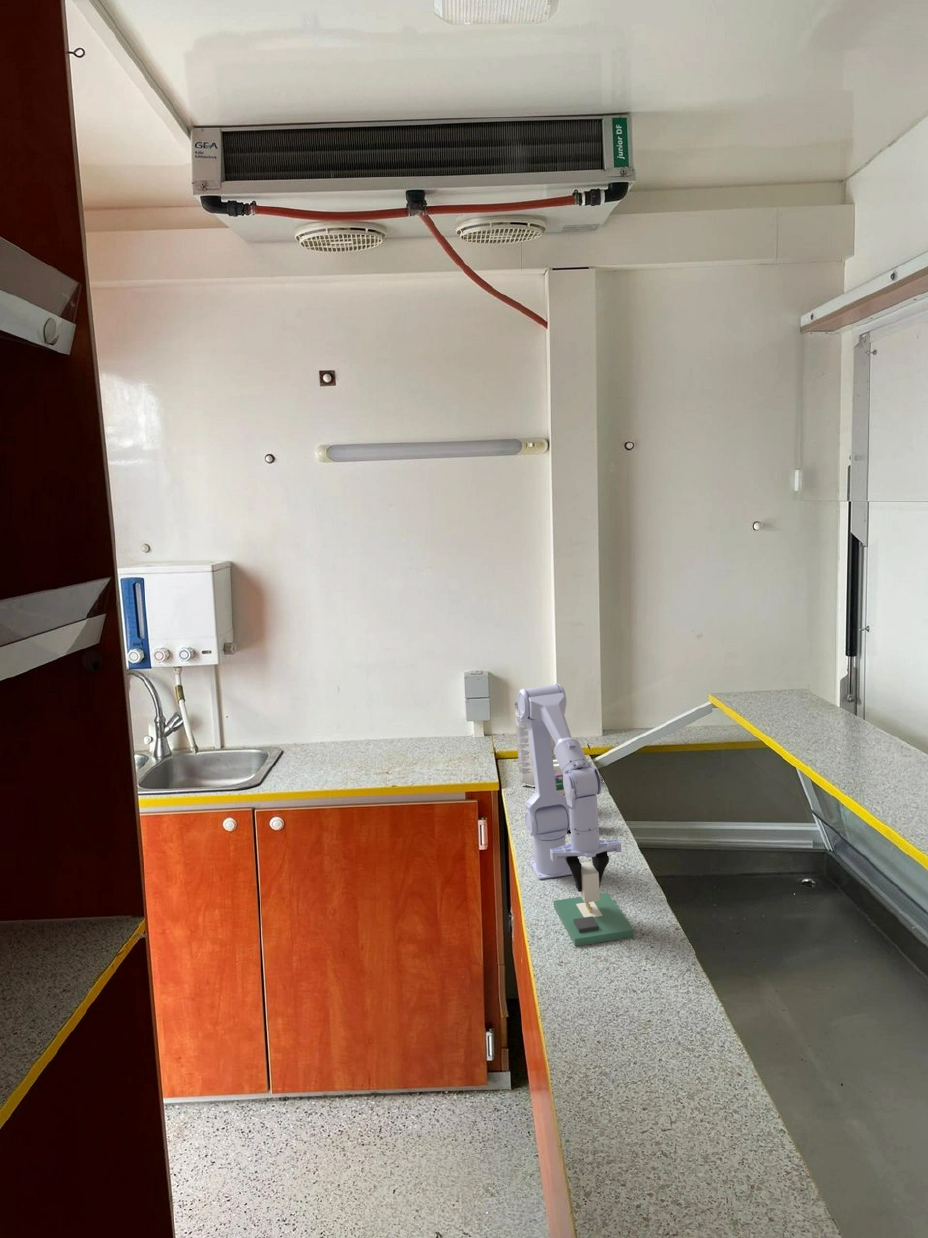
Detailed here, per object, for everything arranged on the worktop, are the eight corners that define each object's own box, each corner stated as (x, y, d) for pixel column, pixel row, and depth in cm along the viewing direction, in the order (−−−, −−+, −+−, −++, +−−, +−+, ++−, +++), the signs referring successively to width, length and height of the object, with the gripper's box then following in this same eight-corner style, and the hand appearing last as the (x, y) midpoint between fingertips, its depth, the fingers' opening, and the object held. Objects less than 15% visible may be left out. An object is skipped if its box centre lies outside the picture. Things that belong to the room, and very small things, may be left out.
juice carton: (548, 792, 253) (542, 701, 248) (516, 787, 258) (510, 698, 254) (562, 781, 260) (557, 693, 255) (531, 777, 266) (525, 690, 261)
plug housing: (575, 887, 185) (573, 860, 184) (589, 885, 185) (588, 858, 184) (584, 903, 178) (583, 875, 177) (600, 900, 178) (598, 873, 177)
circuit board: (553, 907, 187) (553, 895, 186) (608, 899, 188) (607, 887, 188) (575, 946, 171) (574, 933, 171) (634, 936, 173) (633, 924, 172)
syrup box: (549, 819, 233) (546, 767, 231) (544, 811, 239) (540, 760, 237) (570, 816, 234) (567, 764, 232) (564, 808, 240) (561, 757, 237)
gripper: (554, 838, 173) (558, 902, 176) (625, 828, 176) (628, 891, 178) (545, 824, 180) (549, 886, 183) (613, 815, 182) (616, 876, 185)
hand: (587, 888), depth 181 cm, fingers closed on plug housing, 3 cm apart
